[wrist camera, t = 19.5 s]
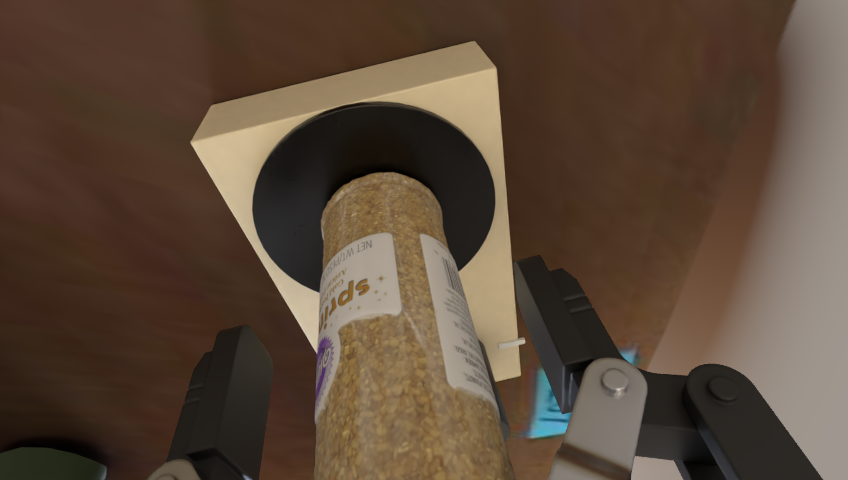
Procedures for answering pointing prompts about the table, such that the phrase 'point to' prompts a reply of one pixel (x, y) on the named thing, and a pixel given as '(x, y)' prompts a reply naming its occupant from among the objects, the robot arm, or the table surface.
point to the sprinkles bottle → (398, 345)
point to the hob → (388, 82)
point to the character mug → (48, 465)
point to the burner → (360, 156)
